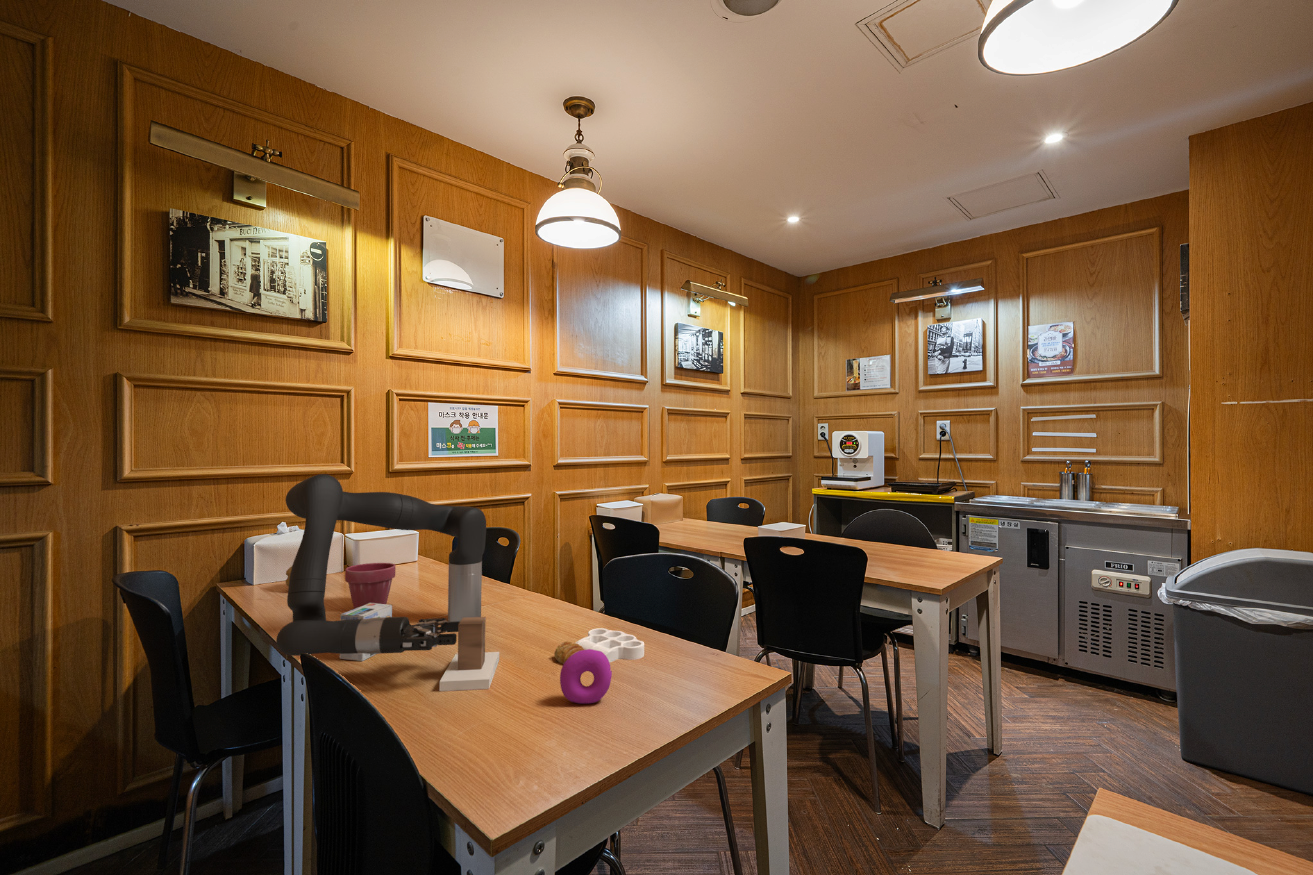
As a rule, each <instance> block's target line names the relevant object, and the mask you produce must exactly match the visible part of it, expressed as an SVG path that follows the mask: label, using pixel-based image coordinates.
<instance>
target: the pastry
mask: <svg viewBox="0 0 1313 875" xmlns="http://www.w3.org/2000/svg"><path fill="white" fill-rule="evenodd" d="M582 650H585V649H583V647H582V646H580V645H579V644H576V642H575V643H573V642H572V641H564V642H561V644H559V645H558V646H557V647H556V649H555V651H554V653H553V654H554V658H555V660H556V661H557V662H558V663H559V664H561V665H564V663H565V662H566V660H567V659H568V658H569V657H570V656H572V655H573V654H574V653H576V652H578V651H582Z"/></svg>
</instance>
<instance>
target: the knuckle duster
mask: <svg viewBox="0 0 1313 875" xmlns="http://www.w3.org/2000/svg"><path fill="white" fill-rule="evenodd" d="M575 643H576V644H579V645H580V646H582V647H583V649H585V650H587V649H593V650H597V651H601V652H603V653H604V654H605V655H606V657H607V658H608V660H609V663H610V664H611V663H612V662H615V661H617V660H628V661H629V660H630V661H632V660H633V661H634V660H639V659H641V658H644V656H645V642H644V641H643V640H639V639H637V637H636V636H635V635H633V634H628V633H626V632H624V631H621V630H610V629H607V628H606V627H604V628H603V627H602V628H601V627H600V628H593V629H590V630H589V631H588V632H587V636H585V637H582V638H580V639H579V640H577V641H575Z"/></svg>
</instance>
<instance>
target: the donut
mask: <svg viewBox="0 0 1313 875" xmlns="http://www.w3.org/2000/svg"><path fill="white" fill-rule="evenodd" d="M587 672H589V673H591V674H592V675H593V681H592V682H591V684H590V685H586V686H585V685H583V683H582V681H581V677H582V675H583V674H584V673H587ZM612 672H613V671H612V670H611V662H610V663H609V660H608V658H607V657H606V655H605V654H604V653H603V652H601V651H597V650H593V649H587V650H582V651H578V652H576V653H574V654H573V655H572V656H570V657H569V658H568V659H567V660H566V662H565V663H564V664H562V667H561V670H560V674H559V681H560V682H559V684H560V689H561V692H562V694H563V696H564V698H566V699H567V700H568V701H569V702H571V703H576V704H594V703H597V702H599V701H601V700H602V699H603V697H604V696H605V695H606V694H607V692H608V691H609V688H610V686H611V682H612V677H613V674H612Z"/></svg>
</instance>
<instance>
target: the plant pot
mask: <svg viewBox="0 0 1313 875" xmlns="http://www.w3.org/2000/svg"><path fill="white" fill-rule="evenodd" d="M344 571H345V572H344V573H345V574H344V581H345V582H346V583H348V588H349V594H350V597H351V598H350V599H351V601H352V602H351V603H352V605H353V609H356V608H358V607H361V606H364V605H366V604H369V603H376V604H387V603H388V599H389V596H390V590H391V586H392V582H393V579H394V578H396V564H395V563H392V562H371V563H362V564H356V565H350V566H348V567H346V568H345V570H344Z"/></svg>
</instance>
